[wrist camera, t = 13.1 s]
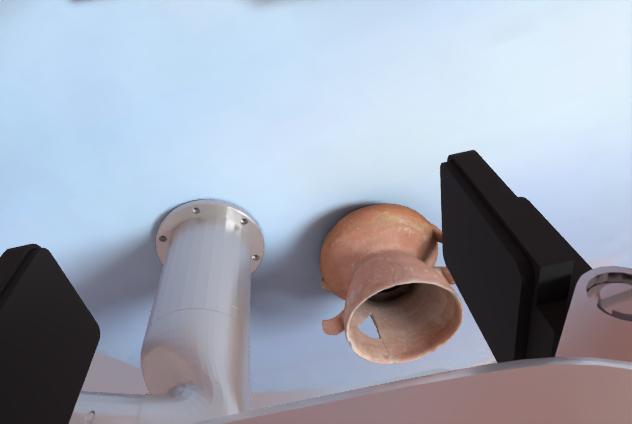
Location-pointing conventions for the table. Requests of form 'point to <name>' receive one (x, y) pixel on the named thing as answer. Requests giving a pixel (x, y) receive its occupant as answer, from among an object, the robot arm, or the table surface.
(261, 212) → the table surface
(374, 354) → the ceramic jug
